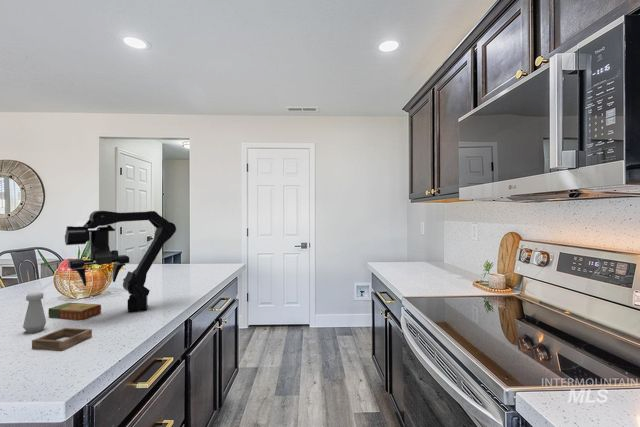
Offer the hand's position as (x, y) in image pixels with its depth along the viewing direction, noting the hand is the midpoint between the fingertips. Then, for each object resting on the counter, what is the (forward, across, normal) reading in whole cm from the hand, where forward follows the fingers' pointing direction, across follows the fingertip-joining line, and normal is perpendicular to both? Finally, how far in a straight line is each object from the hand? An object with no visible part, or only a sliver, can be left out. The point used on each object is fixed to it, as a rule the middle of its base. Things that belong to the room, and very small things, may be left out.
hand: (99, 283), depth 120 cm
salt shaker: (+13, -18, 0) cm, 23 cm away
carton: (+14, -6, +10) cm, 18 cm away
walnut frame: (+13, -14, -19) cm, 27 cm away
